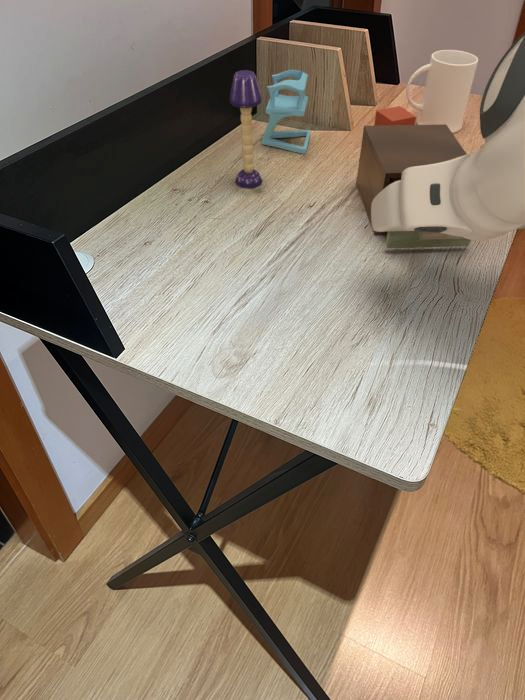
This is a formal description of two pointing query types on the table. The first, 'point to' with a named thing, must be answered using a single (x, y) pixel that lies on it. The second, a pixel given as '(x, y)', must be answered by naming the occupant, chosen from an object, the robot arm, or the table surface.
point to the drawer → (421, 237)
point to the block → (394, 117)
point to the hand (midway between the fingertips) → (436, 224)
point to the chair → (286, 110)
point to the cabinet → (399, 155)
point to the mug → (445, 88)
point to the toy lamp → (246, 123)
